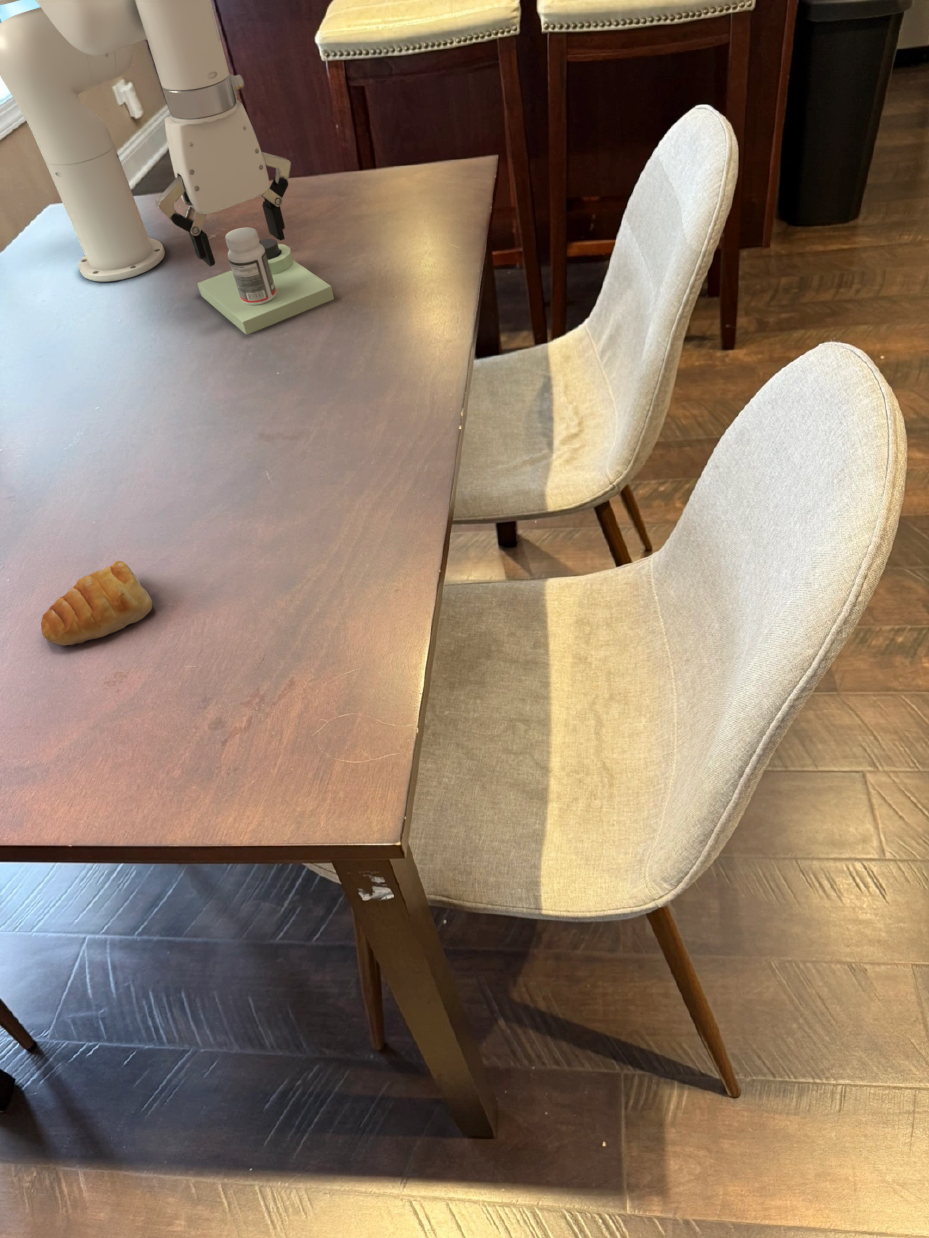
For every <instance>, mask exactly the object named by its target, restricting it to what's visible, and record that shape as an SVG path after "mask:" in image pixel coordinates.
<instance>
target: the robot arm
mask: <svg viewBox="0 0 929 1238" xmlns="http://www.w3.org/2000/svg"><path fill="white" fill-rule="evenodd" d="M18 1H20V0H0V6H3V5H8V4H12V3H16V2H18ZM35 2H36V3H37V4H38V5H39V7H36V8H33V9H29V10H26V11H23V12H20V13H18V14H15V15H13V16H10V17H8V18H6V19H5V20H3V21H1V22H0V78H1V80H2V82H3V83H4V85H5V86H6V88H7V89H8V91H9V93H10V94H11V96H12V98H13V99H14V101H15V103H16V104H17V106H18V108H19V110H20V112H21V114H22V115H23V118H24V120H25V121H26V123H27V125H28V127H29V129H30V132H31V133H32V136H33V138H34V141H35V142H36V144H37V146H38V149H39V152H40V153H41V156H42V158H43V161H44V162H45V165H46V168H47V169H48V172H49V174H50V177H51V179H52V182H53V183H54V186H55V188H56V191H57V193H58V195H59V197H60V200H61V202H62V205H63V207H64V209H65V212H66V215H67V217H68V218H69V222H70V223H71V227H72V228H73V231H74V232H75V235H76V237H77V240H78V242H79V245H80V247H81V248H82V251H83V254H84V255H83V256H82V257H81V259H80V260H79V262H78V270H79V271H80V274H81V275H82V277H84V278H85V279H87V280H90V281H93V282H99V283H100V282H104V283H105V282H106V283H107V282H117V281H123V280H127V279H131V278H133V277H137V276H139V275H141V274H144V273H146V272H148V271H150V270H152V269H154V268H155V267H156V266H157V265H158V264H160V263H161V261H163V259H164V257H165V253H166V252H165V248H164V246H163V244H162V242H160V241H159V239H158V240H157V239H155V238H151V237H149V235H148V233H147V230H146V227H145V224H144V222H143V221H144V220H143V219H142V216H141V213H140V210H139V207H138V204H137V202H136V199H135V197H134V194H133V191H132V189H131V186H130V183H129V180H128V178H127V175H126V173H125V169H124V167H123V165H122V162H121V159H120V156H119V154H118V150H117V148H116V146H115V143H114V140H113V138H112V134H111V133H110V132H111V131H109V129H108V127H107V125H106V123H105V122H104V121H103V119H102V118H101V117H100V116H99V115H98V114H97V113H96V112H95V111H93V110H92V109H91V108H89V107H88V106H87V105H86V104H85V103H83V101H82V100H81V99H80V98H79V95H80V94H81V93H83V92H86V91H87V90H90V89H92V88H95V87H97V86H100V85H103V84H105V83H108V82H111V81H113V80H116V79H117V78H119V77H121V76H123V75H124V74H126V73H127V72H128V71H129V69H130V68H131V66H132V63H133V62H132V61H133V49H132V45H133V44H137V43H140V42H143V41H146V40H147V43H148V46H149V50H150V53H151V57H152V59H153V63H154V66H155V69H156V73H157V76H158V79H159V82H160V86H161V89H162V92H163V95H164V98H165V102H166V105H167V108H168V111H169V116H166V117H165V118H164V127H165V128H164V129H165V134H166V135H165V136H166V142H167V147H168V151H169V157H170V161H171V166H172V170H173V175H174V180H173V181H172V182H171V183H169V185H168V186H167V187H166V188H165V190H164V191H163V192H162V193H161V195H159V196H158V198H157V199H156V200H155V201H154V205H155V206H156V208H158V210H159V211H160V212H161V213H162V214H163V215H164V216H165V217H167V219H168V220H169V221H170V222H171V223H172V224H174V226H177V227H179V228H180V229H182V230H184V231H186V232H188V235H189V238H190V240H191V245H192V247H193V251H194V253H195V255H196V258H197V259H199V260H201V261H203V263H205V264H207V265H208V267H210V268H211V267H213V266H215V264H216V260H215V257H214V253H213V250H212V248H211V247H212V246H211V244H210V241H209V237H208V235H207V233H206V232H204V230H203V226H204V224H205V222H206V218H207V215H210V214H215V213H216V212H220V211H223V210H226V209H229V208H233V207H235V206H237V205H240V204H243V203H246V202H249V201H251V200H255V199H257V198H259V197H262V198H263V199H264V201H262V204H261V207H262V209H263V213H264V214H263V215H264V218H265V222H266V225H267V230H268V233H269V235H270V236H271V237H274V239H276V240H277V241H280V242H282V241H283V240H285V234H284V230H285V228H286V226H285V222H284V221H285V220H284V217H283V213H282V208H281V206H282V205H283V197H284V196H285V193H286V191H287V189H288V188H289V181H288V180H289V177H290V172H291V167H292V162H291V161H290V160H289V159H287V158H286V157H283V156H279V155H275V154H271V153H268V152H263V151H262V150H261V147H260V144H259V140H258V138H257V135H256V133H255V130H254V127H253V124H252V123H251V120H250V118H249V116H248V113H247V111H246V109H245V107H244V105H243V103H242V102H241V101H240V100H239V99H238V95H237V94H238V93H237V92H239V91H240V90H241V89H244V88H245V83H244V79H243V77H242V75H240V74H236V75H234V74H232V73H230V70H229V66H228V63H227V59H226V55H225V52H224V51H225V50H224V47H223V44H222V39H221V35H220V32H219V28H218V24H217V20H216V16H215V12H214V8H213V4H212V1H211V0H35ZM267 167H269V168H275V176H274V178H273V179H272V181H271V184H270V178H269V174H268V170H267ZM179 199H181V200H182V202H183V203H184V204H185V205H187V208H186V211H185V213H184V216H183V215H182V214H180V213H178V212H177V210H176V209H175V207H174V206H175V204H176V202H177V201H178V200H179Z"/></svg>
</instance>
